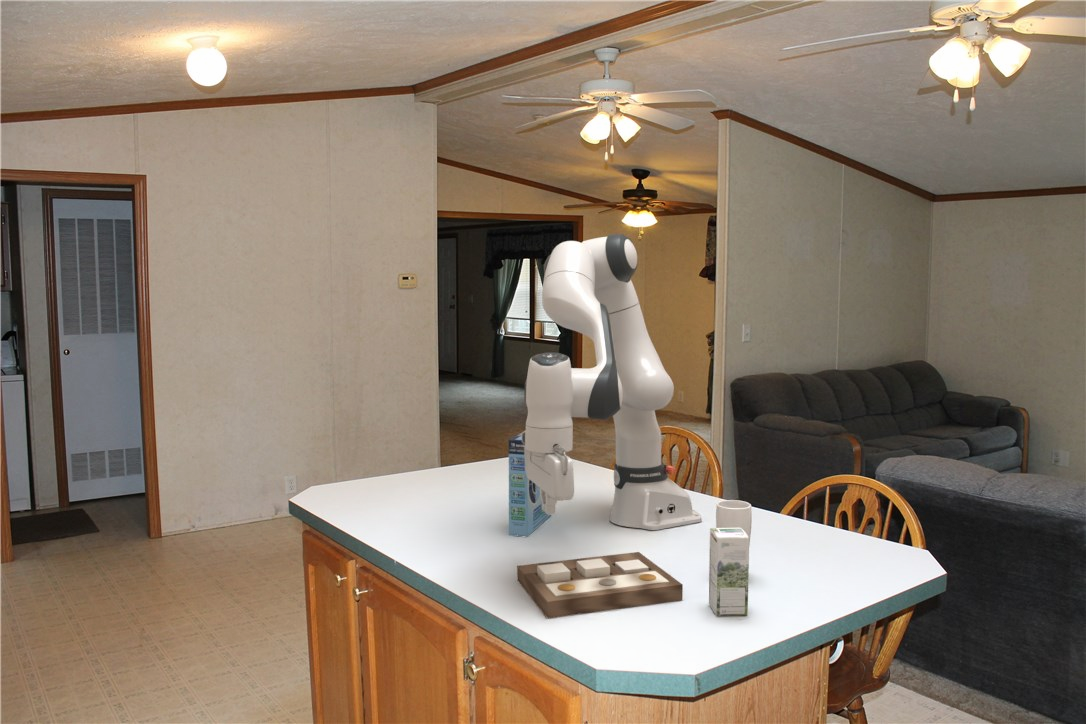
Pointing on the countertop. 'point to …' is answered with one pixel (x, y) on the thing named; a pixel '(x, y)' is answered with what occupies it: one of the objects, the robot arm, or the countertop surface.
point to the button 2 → (631, 566)
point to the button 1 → (553, 572)
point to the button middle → (593, 568)
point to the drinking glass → (734, 515)
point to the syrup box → (728, 571)
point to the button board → (600, 587)
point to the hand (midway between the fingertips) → (548, 512)
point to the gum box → (522, 494)
